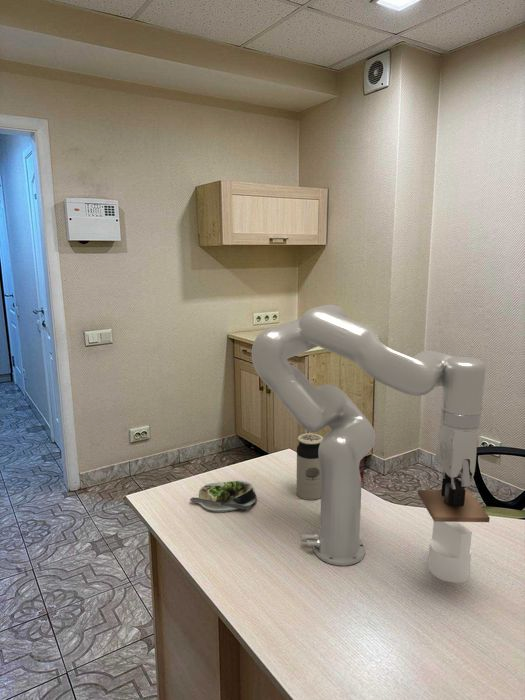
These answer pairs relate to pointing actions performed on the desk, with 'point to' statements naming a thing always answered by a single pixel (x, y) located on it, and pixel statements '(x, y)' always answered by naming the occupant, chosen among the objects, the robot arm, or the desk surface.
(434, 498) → the lid
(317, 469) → the travel mug
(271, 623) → the desk surface
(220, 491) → the salad plate
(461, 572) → the white cylindrical piece
